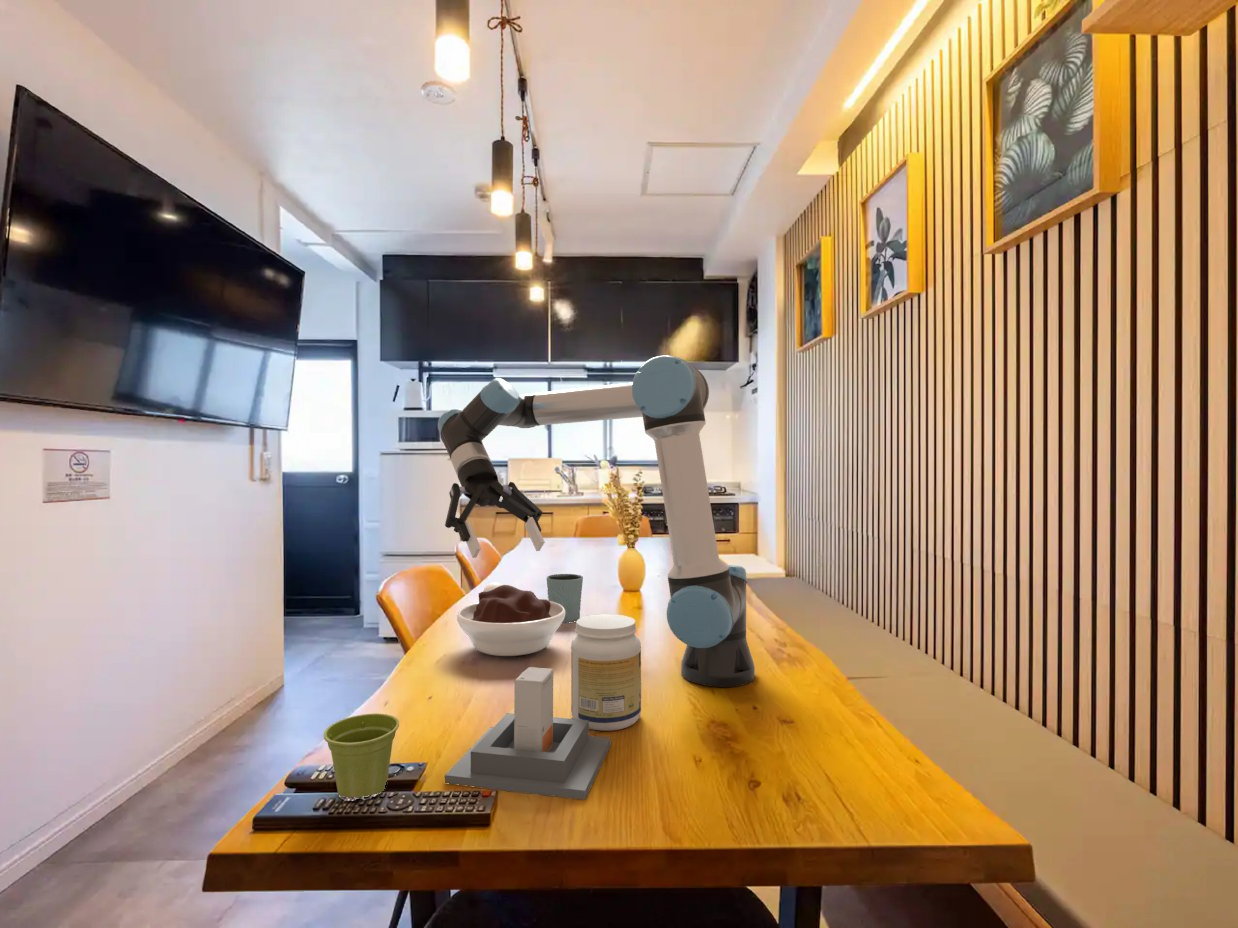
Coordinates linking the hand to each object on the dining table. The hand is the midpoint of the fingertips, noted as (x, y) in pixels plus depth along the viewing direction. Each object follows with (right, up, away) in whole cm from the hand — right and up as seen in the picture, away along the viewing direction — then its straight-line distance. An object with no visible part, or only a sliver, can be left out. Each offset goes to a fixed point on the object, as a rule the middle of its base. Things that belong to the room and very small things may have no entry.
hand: (509, 549), depth 119 cm
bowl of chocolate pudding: (-4, -28, +28) cm, 40 cm away
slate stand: (+8, -28, -26) cm, 39 cm away
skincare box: (+8, -27, -26) cm, 38 cm away
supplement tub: (+18, -28, -10) cm, 35 cm away
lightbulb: (-14, -27, +54) cm, 62 cm away
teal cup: (+5, -27, +57) cm, 63 cm away
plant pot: (-14, -28, -34) cm, 46 cm away
